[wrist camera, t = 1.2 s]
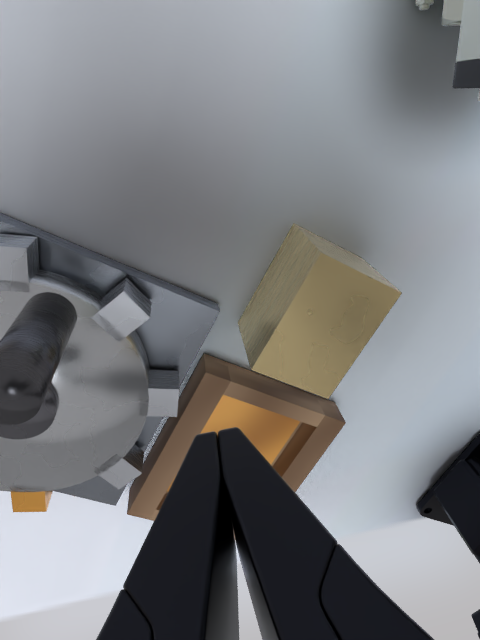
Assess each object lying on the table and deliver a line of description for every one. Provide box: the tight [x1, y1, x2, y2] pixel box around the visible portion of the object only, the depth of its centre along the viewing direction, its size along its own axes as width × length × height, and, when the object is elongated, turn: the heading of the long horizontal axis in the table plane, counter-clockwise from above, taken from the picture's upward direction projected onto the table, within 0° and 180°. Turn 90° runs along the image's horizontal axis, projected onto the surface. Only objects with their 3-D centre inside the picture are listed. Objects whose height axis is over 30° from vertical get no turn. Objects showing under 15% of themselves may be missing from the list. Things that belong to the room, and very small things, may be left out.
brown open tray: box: [127, 353, 346, 540], centre depth 23 cm, size 7×9×2 cm
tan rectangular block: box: [238, 224, 402, 399], centre depth 18 cm, size 4×5×4 cm
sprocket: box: [0, 234, 179, 512], centre depth 16 cm, size 12×12×6 cm
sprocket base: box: [0, 213, 220, 506], centre depth 19 cm, size 12×12×1 cm
